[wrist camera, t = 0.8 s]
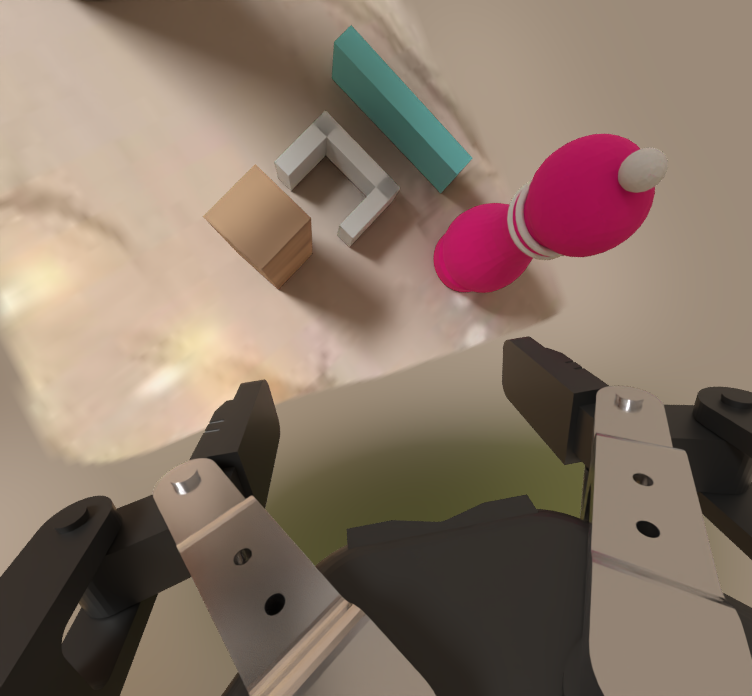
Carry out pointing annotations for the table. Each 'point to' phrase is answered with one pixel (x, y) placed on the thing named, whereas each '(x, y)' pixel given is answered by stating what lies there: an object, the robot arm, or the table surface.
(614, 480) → the robot arm
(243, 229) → the peg
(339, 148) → the frame
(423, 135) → the wall
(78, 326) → the table surface
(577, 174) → the pepper mill
